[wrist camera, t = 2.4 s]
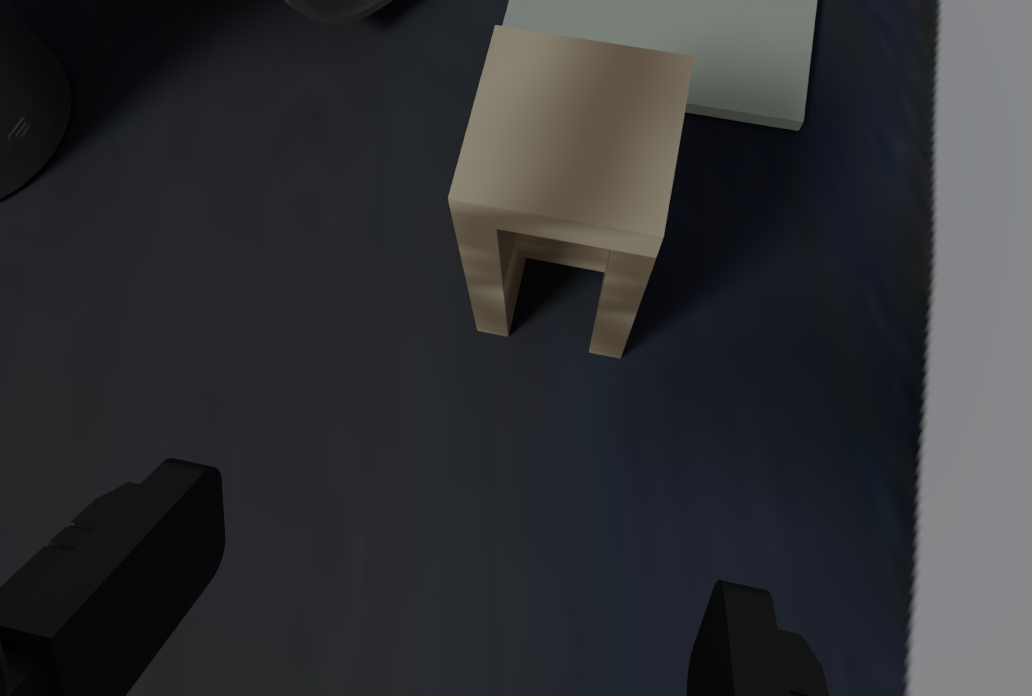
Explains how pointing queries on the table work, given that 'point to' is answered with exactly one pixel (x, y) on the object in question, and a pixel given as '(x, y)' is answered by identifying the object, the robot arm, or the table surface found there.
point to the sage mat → (702, 47)
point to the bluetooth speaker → (337, 9)
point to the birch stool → (568, 171)
